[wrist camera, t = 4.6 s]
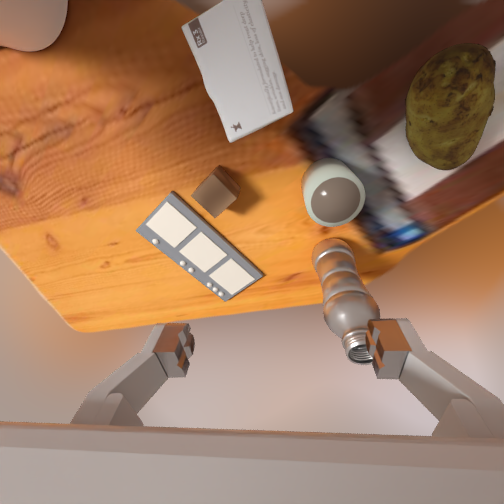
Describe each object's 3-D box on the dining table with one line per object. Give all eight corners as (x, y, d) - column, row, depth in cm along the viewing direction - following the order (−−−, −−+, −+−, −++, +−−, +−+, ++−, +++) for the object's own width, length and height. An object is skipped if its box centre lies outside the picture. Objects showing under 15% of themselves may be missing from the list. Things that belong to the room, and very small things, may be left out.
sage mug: (291, 181, 37) (294, 198, 31) (332, 146, 34) (344, 159, 28) (319, 214, 39) (327, 236, 33) (360, 185, 36) (376, 203, 30)
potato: (387, 172, 35) (414, 192, 28) (395, 60, 28) (432, 51, 22) (454, 160, 34) (498, 178, 27) (478, 38, 27) (545, 22, 20)
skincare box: (290, 106, 32) (301, 117, 19) (247, 126, 33) (230, 148, 21) (266, 24, 28) (259, -28, 15) (218, 52, 29) (176, 25, 17)
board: (137, 228, 43) (134, 231, 42) (172, 190, 39) (169, 193, 38) (225, 298, 51) (224, 302, 50) (262, 273, 46) (262, 277, 45)
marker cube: (199, 185, 38) (190, 195, 35) (219, 164, 36) (212, 173, 33) (220, 206, 40) (215, 218, 36) (240, 187, 38) (237, 198, 34)
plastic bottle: (331, 271, 45) (365, 380, 28) (301, 253, 43) (318, 356, 27) (358, 246, 42) (414, 352, 25) (327, 225, 40) (365, 323, 23)
